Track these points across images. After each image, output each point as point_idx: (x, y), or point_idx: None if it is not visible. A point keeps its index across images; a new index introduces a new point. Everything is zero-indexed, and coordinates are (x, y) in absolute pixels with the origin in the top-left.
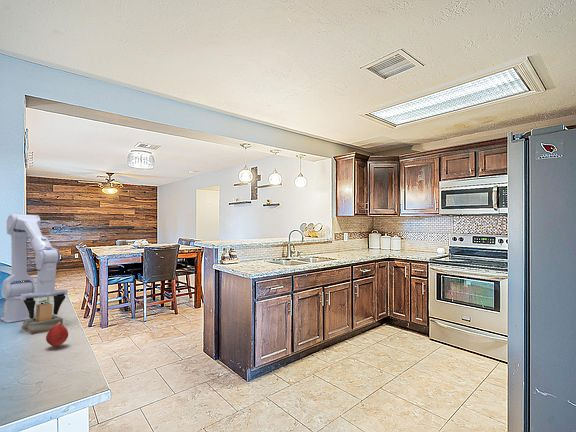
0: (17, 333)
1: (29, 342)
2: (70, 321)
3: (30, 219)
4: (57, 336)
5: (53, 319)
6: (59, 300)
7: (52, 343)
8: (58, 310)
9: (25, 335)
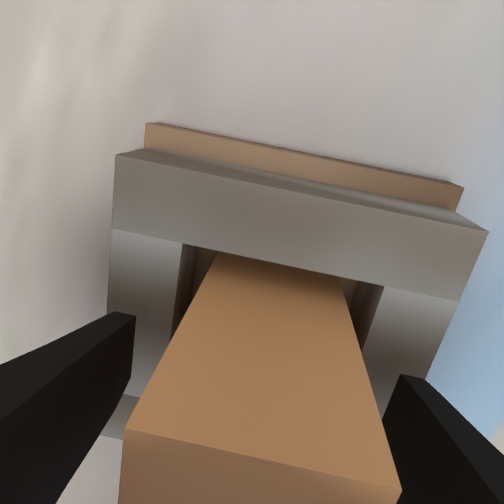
0: (471, 332)
1: None
2: (14, 298)
3: None
4: None
5: (209, 228)
6: None
7: None
8: (73, 332)
9: (496, 207)
